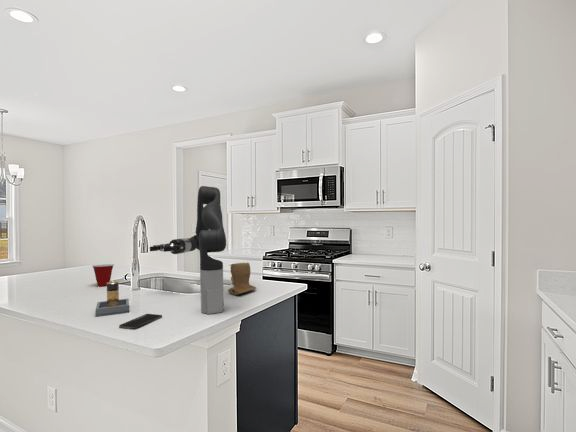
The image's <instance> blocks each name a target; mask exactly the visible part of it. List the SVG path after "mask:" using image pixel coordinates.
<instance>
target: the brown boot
mask: <svg viewBox="0 0 576 432" xmlns="http://www.w3.org/2000/svg"><path fill="white" fill-rule="evenodd" d="M230 275H231V276H232V277H233V281H234V284H233V286H232V287H230V288H228V289H227V292H228V293H229V294H230V295H233V296H237V295H241V294H245V293H248V292H250V291H253V290H256V289H257V287H256V286H254V285H251V284H250V277H251V265H250V263H249V262H236V263H231V265H230Z"/></svg>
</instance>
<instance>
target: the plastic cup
mask: <svg viewBox="0 0 576 432" xmlns="http://www.w3.org/2000/svg"><path fill="white" fill-rule="evenodd" d="M114 266H115V264H113V263H112V264H111V263H110V264H109V263H107V264H106V263H105V264H93V265H92V268H93V271H94V272H93V273H94V275H95V276H94V277H95V280H96V284H97V287H98V286H99V288H100V287H101V288H102V287H107V283H108V282H111V279H112V278H111V277H112V273H113V268H114Z"/></svg>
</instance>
